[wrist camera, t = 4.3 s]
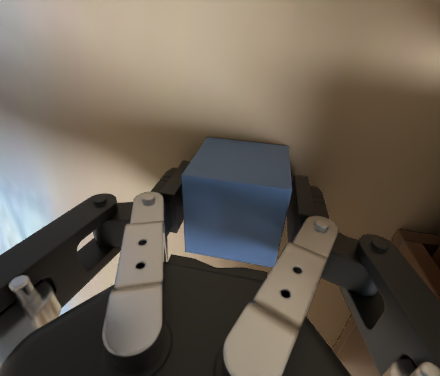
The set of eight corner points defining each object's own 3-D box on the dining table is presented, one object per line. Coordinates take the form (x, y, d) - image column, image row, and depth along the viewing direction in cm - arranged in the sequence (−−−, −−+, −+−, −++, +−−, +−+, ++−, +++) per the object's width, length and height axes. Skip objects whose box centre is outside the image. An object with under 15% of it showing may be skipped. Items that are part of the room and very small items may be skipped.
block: (207, 136, 14) (181, 174, 10) (288, 145, 13) (292, 189, 10) (206, 202, 16) (184, 252, 13) (275, 212, 16) (274, 268, 12)
